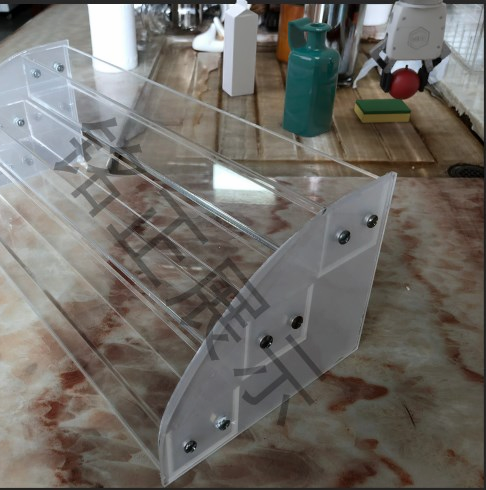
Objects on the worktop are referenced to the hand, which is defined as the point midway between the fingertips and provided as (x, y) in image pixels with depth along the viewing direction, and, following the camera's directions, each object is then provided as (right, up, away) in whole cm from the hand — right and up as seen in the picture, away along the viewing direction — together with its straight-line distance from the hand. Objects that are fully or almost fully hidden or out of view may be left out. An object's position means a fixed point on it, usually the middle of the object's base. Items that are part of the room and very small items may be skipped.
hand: (402, 89), depth 120 cm
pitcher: (-18, -6, +9) cm, 21 cm away
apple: (0, -2, +1) cm, 2 cm away
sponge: (0, -3, +13) cm, 13 cm away
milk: (-29, +6, +28) cm, 41 cm away
